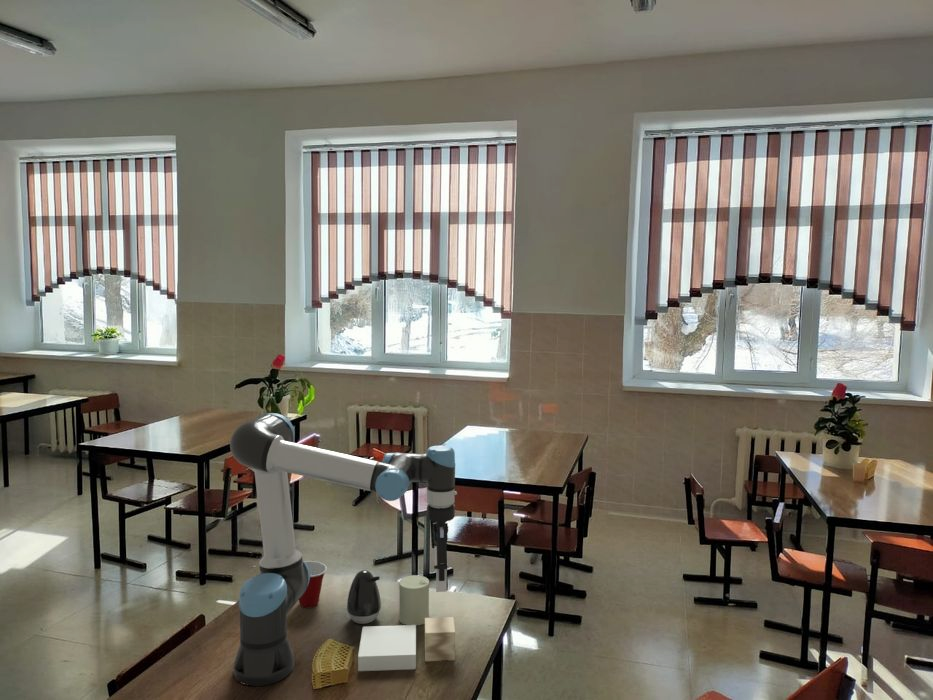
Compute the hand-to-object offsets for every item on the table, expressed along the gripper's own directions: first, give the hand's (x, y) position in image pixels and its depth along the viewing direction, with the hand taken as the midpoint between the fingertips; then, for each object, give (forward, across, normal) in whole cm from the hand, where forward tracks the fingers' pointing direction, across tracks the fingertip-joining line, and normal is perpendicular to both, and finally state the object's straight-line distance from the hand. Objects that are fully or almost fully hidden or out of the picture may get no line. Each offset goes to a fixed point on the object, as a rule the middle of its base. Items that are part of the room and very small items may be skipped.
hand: (440, 579), depth 173 cm
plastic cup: (+21, +30, +40) cm, 54 cm away
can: (+21, +19, +7) cm, 29 cm away
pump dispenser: (+21, +19, +22) cm, 36 cm away
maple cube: (+21, 0, 0) cm, 21 cm away
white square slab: (+21, 0, +14) cm, 25 cm away
